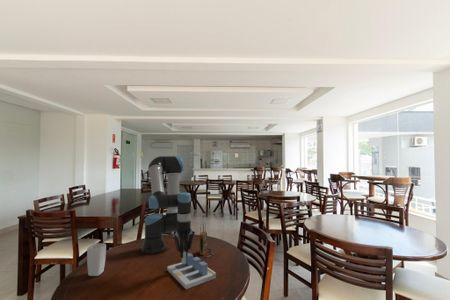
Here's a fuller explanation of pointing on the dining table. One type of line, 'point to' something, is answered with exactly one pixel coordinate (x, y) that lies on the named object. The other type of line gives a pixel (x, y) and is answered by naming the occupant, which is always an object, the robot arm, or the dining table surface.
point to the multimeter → (203, 242)
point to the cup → (96, 259)
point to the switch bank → (189, 275)
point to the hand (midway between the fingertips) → (183, 263)
